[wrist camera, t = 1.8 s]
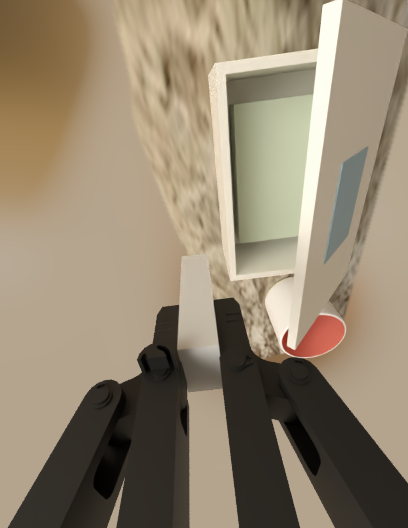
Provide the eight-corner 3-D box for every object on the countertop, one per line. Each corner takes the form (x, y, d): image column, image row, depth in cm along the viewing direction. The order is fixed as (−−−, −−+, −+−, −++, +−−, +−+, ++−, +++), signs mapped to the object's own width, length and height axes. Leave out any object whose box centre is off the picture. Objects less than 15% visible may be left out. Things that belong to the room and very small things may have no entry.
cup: (304, 316, 49) (328, 360, 40) (256, 311, 47) (271, 356, 39) (326, 276, 43) (359, 317, 35) (273, 269, 42) (294, 310, 34)
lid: (286, 345, 23) (295, 350, 22) (323, 4, 10) (345, -4, 10) (340, 271, 31) (347, 273, 30) (395, 31, 19) (409, 28, 18)
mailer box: (222, 247, 39) (230, 281, 31) (208, 75, 27) (215, 63, 20) (310, 236, 39) (339, 267, 31) (334, 57, 27) (391, 38, 19)
